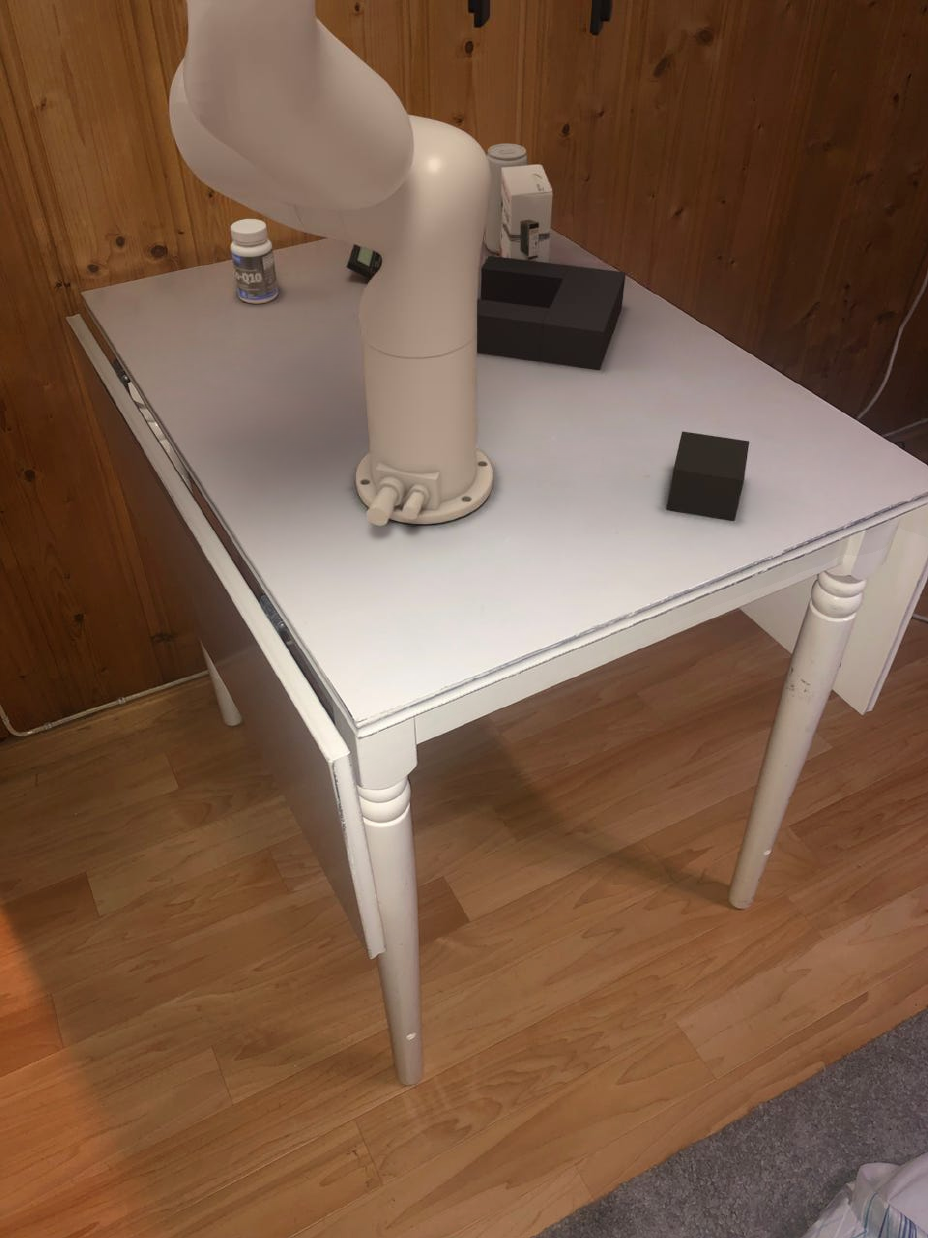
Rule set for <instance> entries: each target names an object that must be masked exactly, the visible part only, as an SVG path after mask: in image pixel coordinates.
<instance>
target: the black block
mask: <svg viewBox="0 0 928 1238" xmlns="http://www.w3.org/2000/svg"><path fill="white" fill-rule="evenodd" d="M749 447H750V440H743V439H736V438H731V437H730V438H729V437H723V436H716V435H710V434H703V433H696V432H689V431H681V434H680V439H679V443H678V448H677V451H676V456H675V461H674V465H673V469H672V475H671V482H670V487H669V492H668V499H667V505H666V510H667V511H673V512H679V513H685V514H689V515H697V516H701V517H709V518H713V519H720V520H727V521H733V522H734V521H735V520H736V516H737V512H738V508H739V505H740V504H739V503H740V500H741V494H742V490H743V486H744V482H745V476H746V470H747V469H746V468H747V463H748V455H749Z"/></svg>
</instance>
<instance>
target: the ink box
mask: <svg viewBox="0 0 928 1238" xmlns="http://www.w3.org/2000/svg"><path fill="white" fill-rule="evenodd" d="M553 193H554V192H553V188H552V184H551V183H550V180H549V178H548V176H547V174H546V172H545V169H544V166H543V165H542V164H527V165H526V166H514V167H502V168H501V223H500V254H499V257H504V258H512V259H520V260H529V261H537V262H545V263H550V261H549V259H550V243H551V228H552V227H551V225H552V224H551V223H552V210H553V208H552V207H553V195H554V194H553Z"/></svg>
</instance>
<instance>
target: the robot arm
mask: <svg viewBox="0 0 928 1238" xmlns="http://www.w3.org/2000/svg"><path fill="white" fill-rule="evenodd" d="M185 2H186V6H187V7H186V9H187V22H188V23H187V24H188V25H187V26H188V31H187V43H186V47H185V51H184V57H183V59H182V60H181V61H180V63H179V65H178V66H177V69H176V71H175V73H174V76H173V78H172V82H171V85H170V89H169V99H168V115H169V121H170V127H171V132H172V135H173V139H174V141H175V144H176V146H177V149H178V151H179V154H180V155H181V157H182V159H183V161H184V163H185V164H186V165H187V166H188V168H189V169H190V171H191V172H192V173H193V175H195V177H196V178H198V179H199V180H200V182H202V183H203V184H204V185H205V186H207V187H208V188H210V189H211V190H214V191H215V192H217V193H219V194H220V195H223V196H225V197H227V198H228V199H230V200H232V201H233V202H236V203H238V204H240V205H242V206H244V207H246V208H248V209H250V210H251V211H253V212H256V213H257V214H258V213H259V214H260V215H262V216H264V217H266V218H268V219H270V220H271V221H274V222H276V223H278V224H280V225H283V226H285V227H287V228H290V229H293V230H295V231H299V232H302V233H306V234H309V235H313V236H318V237H320V238H321V237H322V238H325V239H330V240H335V241H339V242H343V243H347V244H351V245H354V244H355V245H358V246H360V247H363V248H367V249H370V250H374V251H376V252H377V253H379V254H380V255H381V257H382V265H381V267H380V269H379V271H378V272H377V273H376V274H375V275H374V277H373V278H372V279H371V280H370V279H369V281H368V283H367V284H366V286H365V287H364V289H363V291H362V294H361V297H360V300H359V307H358V308H359V309H358V316H359V317H358V321H359V332H360V340H361V352H362V353H361V355H362V365H363V366H362V367H363V376H364V379H363V380H364V389H365V401H366V413H367V415H366V416H367V424H368V425H367V426H368V437H369V439H368V440H369V450H370V451H369V452H368V453H367V454H365V456H364V457H363V458H362V459H361V461H360V462H359V464H358V465H357V468H356V471H355V487H356V491H357V494H358V496H359V498H360V500H361V501H362V502H363V504H365V506H367V508H368V509H367V511H366V518H367V520H368V521H369V523H371V524H372V525H374V526H378V527H382V526H385V525H386V524H387V523H388V522H389V520H392V521H395V522H399V523H405V524H411V525H432V524H433V525H434V524H442V523H446V522H451V521H454V520H456V519H459V518H462V517H465V516H467V515H468V514H470V513H472V512H474V511H475V510H477V509H478V508H479V507H480V506H482V505H483V504H484V503H485V502H486V500H487V499H488V498H489V497H490V495H491V492H492V489H493V485H494V469H493V466H492V463H491V461H490V459H489V458H488V457H487V456H486V454H485V453H483V451H482V450H480V449H479V448H478V447H477V433H478V432H477V429H478V427H477V421H478V418H477V413H478V410H477V408H478V407H477V405H478V403H477V402H478V401H477V400H478V399H477V398H478V397H477V396H478V353H477V299H478V289H479V288H478V287H479V274H480V273H479V272H480V271H479V270H480V263H481V262H480V261H481V255H482V254H481V253H482V247H483V240H484V235H485V231H486V219H487V214H488V209H489V203H490V196H491V180H492V178H491V169H490V164H489V161H488V158H487V154H486V152H485V150H484V149H483V148H482V146H481V145H480V143H478V141H477V140H476V139H475V138H474V137H473V136H471V135H470V134H468V133H467V132H466V131H465V130H462V129H460V128H459V127H456V126H453V125H451V124H450V123H446V122H444V121H440V120H436V119H433V118H428V117H423V116H417V115H412V114H408V113H407V111H406V108H405V107H404V105H403V103H402V101H401V99H400V98H399V96H398V95H397V94H396V93H395V91H394V90H393V89H392V87H391V86H390V85H389V83H387V81H386V80H385V79H384V78H383V77H382V76H380V75H379V74H378V72H376V71H375V70H374V69H373V68H372V67H370V66H369V65H368V64H367V63H366V62H365V61H364V60H362V59H361V58H360V57H359V56H357V54H356V53H354V52H353V51H352V50H351V49H350V48H348V46H347V45H346V44H344V43H343V42H342V41H341V40H339V38H337V37H336V36H335V35H334V34H333V33H332V32H331V31H330V30H329V29H328V28H327V27H326V26H325V25H324V24H323V23H322V21H320V20H319V18H318V17H317V14H316V0H185ZM613 3H614V0H591V9H590V10H591V11H590V21H589V22H590V23H589V34H591V36H597V37H598V36H599V35H600V33H601V32H602V29H603V27H604V22H606V23H607V22H608V23H610V22H611V19H612V15H613V14H612V13H613ZM467 12H468V14H473V28H475V29H481V28H482V27H484V26H485V25H486V23H488V21H489V20H490V18H491V0H467Z"/></svg>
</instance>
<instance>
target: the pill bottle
mask: <svg viewBox="0 0 928 1238" xmlns="http://www.w3.org/2000/svg"><path fill="white" fill-rule="evenodd" d="M230 232H231V233H230V235H231V239H232V242H231V243H230V254H231V260H232V266H233V272H234V277H235V283H236V290H237V291H236V292H237V295H238V298H239V299H240V300H241V301H243V302H244V303H248V304H257V305H258V304H259V305H260V304H265V303H269V302H272V300H274V299H275V298H277V296H278V294H279V287H278V281H277V279H278V278H277V273H276V265H275V264H276V263H275V258H274V257H275V256H274V250H273V244H272V241H271V240H270V238H268V237H269V236H268V229H267V224H266V223H265V221H263V220H261V219H256V218H244V219H240V220H237V221H234V222H233V223H232V224H231V225H230Z"/></svg>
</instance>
